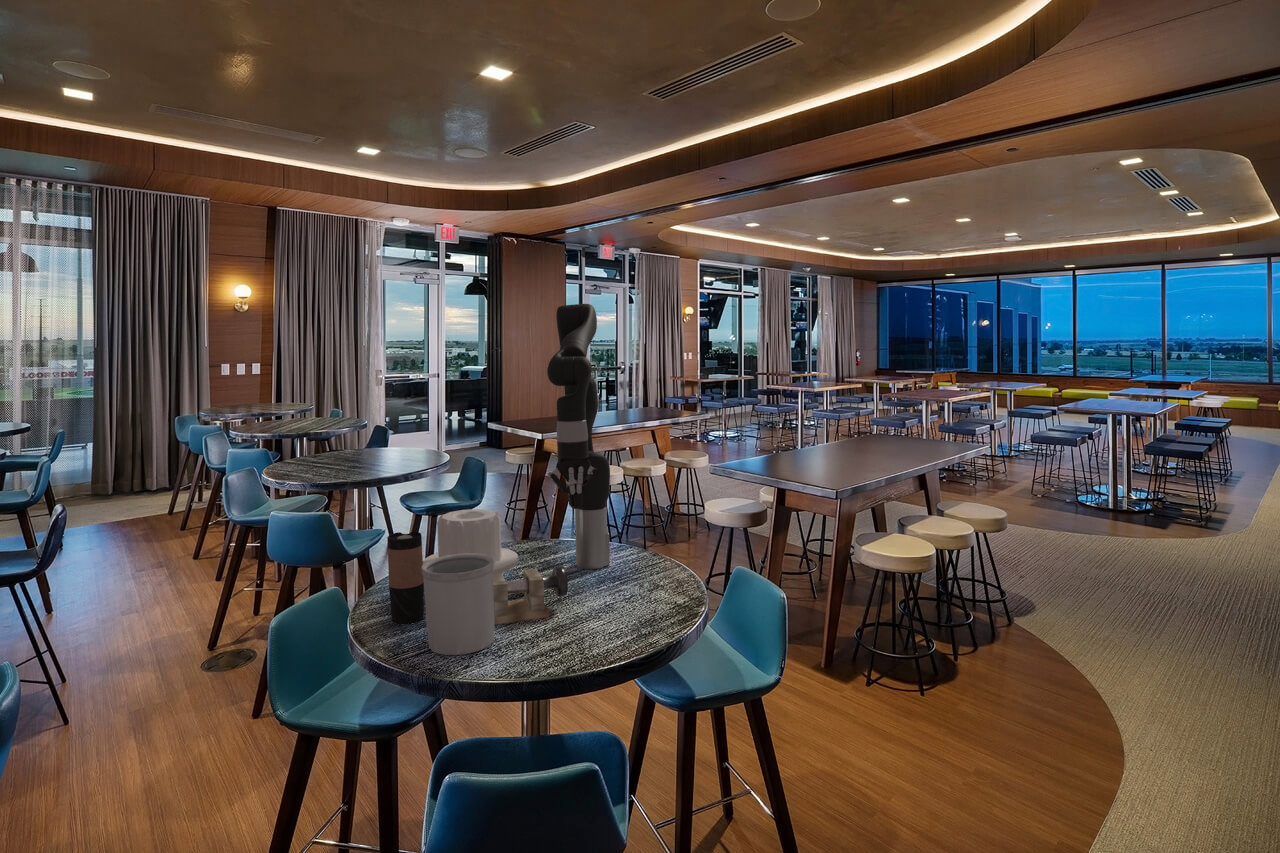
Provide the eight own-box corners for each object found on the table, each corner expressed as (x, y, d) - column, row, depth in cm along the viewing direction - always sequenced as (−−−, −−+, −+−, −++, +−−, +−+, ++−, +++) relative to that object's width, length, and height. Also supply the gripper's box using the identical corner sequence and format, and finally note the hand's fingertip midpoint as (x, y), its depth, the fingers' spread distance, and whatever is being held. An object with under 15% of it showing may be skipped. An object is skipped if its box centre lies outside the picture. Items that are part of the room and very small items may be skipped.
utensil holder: (409, 651, 142) (406, 569, 141) (453, 625, 156) (450, 550, 154) (469, 661, 137) (466, 576, 135) (509, 633, 151) (507, 556, 149)
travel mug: (405, 628, 155) (401, 541, 153) (383, 621, 159) (379, 536, 157) (432, 617, 161) (428, 533, 159) (410, 610, 165) (406, 529, 163)
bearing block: (539, 602, 170) (539, 567, 169) (549, 616, 161) (548, 579, 160) (486, 609, 165) (485, 573, 164) (493, 624, 156) (492, 586, 155)
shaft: (560, 590, 170) (560, 562, 169) (568, 599, 163) (567, 570, 163) (487, 599, 164) (486, 571, 163) (491, 609, 157) (491, 580, 156)
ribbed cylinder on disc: (469, 607, 167) (466, 531, 165) (402, 589, 181) (399, 518, 179) (537, 579, 188) (536, 511, 186) (473, 564, 202) (470, 501, 200)
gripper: (593, 435, 173) (595, 502, 175) (542, 439, 168) (545, 508, 170) (603, 438, 166) (605, 508, 168) (550, 442, 161) (553, 514, 163)
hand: (575, 508), depth 169 cm, fingers closed
